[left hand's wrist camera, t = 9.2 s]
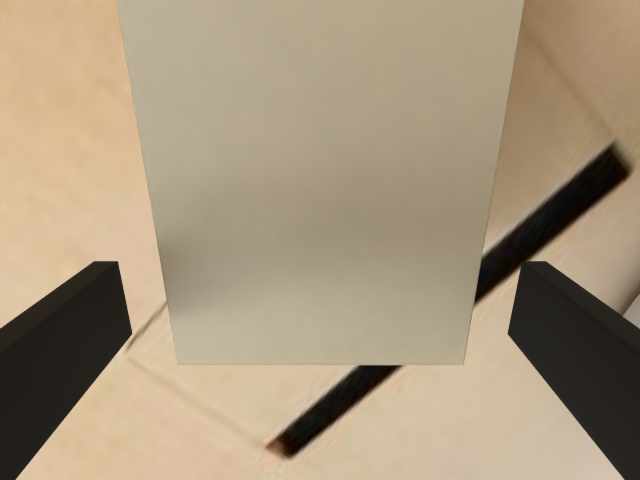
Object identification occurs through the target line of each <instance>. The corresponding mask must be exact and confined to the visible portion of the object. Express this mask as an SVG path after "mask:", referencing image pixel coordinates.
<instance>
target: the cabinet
mask: <svg viewBox="0 0 640 480" xmlns="http://www.w3.org/2000/svg"><path fill="white" fill-rule="evenodd" d="M524 2H525V0H117V6H118V12H119V18H120V24H121V30H122V36H123V41H124V47H125V53H126V59H127V65H128V71H129V77H130V83H131V89H132V95H133V101H134V107H135V113H136V119H137V125H138V131H139V137H140V143H141V149H142V155H143V161H144V167H145V172H146V178H147V184H148V190H149V196H150V202H151V208H152V214H153V220H154V226H155V232H156V238H157V244H158V250H159V256H160V262H161V268H162V274H163V280H164V286H165V292H166V298H167V304H168V309H169V315H170V321H171V327H172V333H173V339H174V345H175V351H176V357H177V363H178V365H463V364H464V359H465V353H466V347H467V341H468V335H469V329H470V323H471V317H472V311H473V306H474V300H475V294H476V288H477V282H478V276H479V270H480V264H481V258H482V252H483V246H484V240H485V234H486V228H487V222H488V216H489V210H490V204H491V198H492V193H493V187H494V181H495V175H496V169H497V163H498V157H499V151H500V145H501V139H502V133H503V127H504V121H505V115H506V109H507V103H508V97H509V91H510V85H511V80H512V74H513V68H514V62H515V56H516V50H517V44H518V38H519V32H520V26H521V20H522V14H523V8H524Z"/></svg>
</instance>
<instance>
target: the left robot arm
mask: <svg viewBox="0 0 640 480" xmlns="http://www.w3.org/2000/svg"><path fill="white" fill-rule="evenodd" d="M131 335H132V329H131V324H130V319H129V314H128V310H127V305H126V300H125V295H124V290H123V285H122V280H121V275H120V270H119V265H118V261H94V262H93V263H91V264H90V265H88V266H87V267H86V268H84V269H83V270H81V271H80V272H79V273H77V274H76V275H74V276H73V277H72V278H70V279H69V280H67V281H66V282H65V283H63V284H62V285H60V286H59V287H58V288H56V289H55V290H54V291H52V292H51V293H49V294H48V295H47V296H45V297H44V298H42V299H41V300H40V301H38V302H37V303H35V304H34V305H33V306H31V307H30V308H28V309H27V310H26V311H24V312H23V313H21V314H20V315H19V316H17V317H16V318H14V319H13V320H12V321H10V322H9V323H7V324H6V325H5V326H3V327H2V328H0V480H16V478H17V477H18V476H19V475H20V473H21V472H22V471H23V470H24V468H25V467H26V466H27V465H28V463H29V462H30V461H31V460H32V458H33V457H34V456H35V455H36V453H37V452H38V451H39V450H40V448H41V447H42V446H43V445H44V443H45V442H46V441H47V440H48V438H49V437H50V436H51V435H52V433H53V432H54V431H55V430H56V428H57V427H58V426H59V425H60V423H61V422H62V421H63V420H64V418H65V417H66V416H67V415H68V413H69V412H70V411H71V410H72V408H73V407H74V406H75V405H76V403H77V402H78V401H79V400H80V398H81V397H82V396H83V395H84V393H85V392H86V391H87V390H88V388H89V387H90V386H91V385H92V384H93V382H94V381H95V380H96V379H97V377H98V376H99V375H100V374H101V372H102V371H103V370H104V369H105V367H106V366H107V365H108V364H109V362H110V361H111V360H112V359H113V357H114V356H115V355H116V354H117V352H118V351H119V350H120V349H121V347H122V346H123V345H124V344H125V342H126V341H127V340H128V339H129V337H130V336H131ZM508 335H509V336H510V337H511V339H512V340H513V341H514V342H515V344H516V345H517V346H518V347H519V349H520V350H521V351H522V352H523V354H524V355H525V356H526V357H527V359H528V360H529V361H530V362H531V364H532V365H533V366H534V367H535V369H536V370H537V371H538V372H539V374H540V375H541V376H542V377H543V379H544V380H545V381H546V382H547V384H548V385H549V386H550V387H551V389H552V390H553V391H554V392H555V393H556V395H557V396H558V397H559V398H560V400H561V401H562V402H563V403H564V405H565V406H566V407H567V408H568V410H569V411H570V412H571V413H572V415H573V416H574V417H575V418H576V420H577V421H578V422H579V423H580V425H581V426H582V427H583V428H584V430H585V431H586V432H587V433H588V435H589V436H590V437H591V438H592V440H593V441H594V442H595V443H596V445H597V446H598V447H599V448H600V450H601V451H602V452H603V453H604V455H605V456H606V457H607V458H608V460H609V461H610V462H611V463H612V465H613V466H614V467H615V468H616V470H617V471H618V472H619V473H620V475H621V476H622V477H623V478H624V480H640V328H638V327H637V326H635V325H634V324H633V323H631V322H630V321H628V320H627V319H626V318H624V317H623V316H621V315H620V314H619V313H617V312H616V311H614V310H613V309H612V308H610V307H609V306H607V305H606V304H605V303H603V302H602V301H600V300H599V299H598V298H596V297H595V296H593V295H592V294H591V293H589V292H588V291H586V290H585V289H584V288H582V287H581V286H580V285H578V284H577V283H575V282H574V281H573V280H571V279H570V278H568V277H567V276H566V275H564V274H563V273H561V272H560V271H559V270H557V269H556V268H554V267H553V266H552V265H550V264H549V263H547V262H546V261H522V265H521V270H520V275H519V280H518V285H517V290H516V295H515V300H514V305H513V310H512V314H511V319H510V324H509V329H508Z"/></svg>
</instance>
